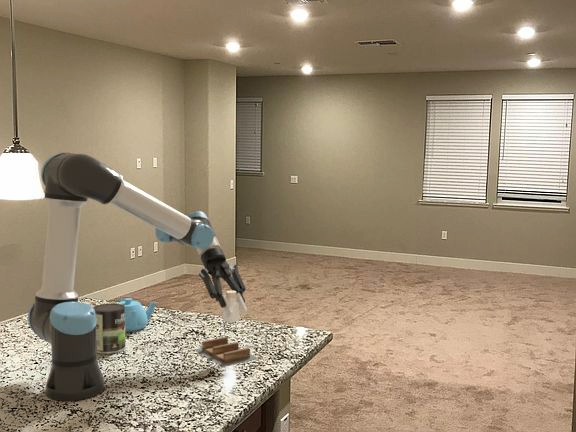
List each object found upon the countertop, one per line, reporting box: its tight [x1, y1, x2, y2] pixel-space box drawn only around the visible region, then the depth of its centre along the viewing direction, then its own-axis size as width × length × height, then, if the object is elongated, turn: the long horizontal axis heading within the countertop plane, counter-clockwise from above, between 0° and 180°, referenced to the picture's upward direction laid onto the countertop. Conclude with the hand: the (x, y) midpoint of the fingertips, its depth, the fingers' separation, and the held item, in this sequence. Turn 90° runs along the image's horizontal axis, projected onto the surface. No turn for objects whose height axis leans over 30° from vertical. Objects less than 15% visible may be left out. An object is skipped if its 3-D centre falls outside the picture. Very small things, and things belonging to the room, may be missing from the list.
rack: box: [201, 336, 251, 364], centre depth 200 cm, size 15×9×3 cm, turn 37°
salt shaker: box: [222, 290, 241, 324], centre depth 196 cm, size 4×4×10 cm
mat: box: [194, 342, 259, 368], centre depth 201 cm, size 19×13×1 cm
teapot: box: [116, 297, 157, 333], centre depth 229 cm, size 15×15×11 cm
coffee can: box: [92, 302, 127, 355], centre depth 204 cm, size 10×10×14 cm
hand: (237, 313), depth 193 cm, fingers closed on salt shaker, 4 cm apart
